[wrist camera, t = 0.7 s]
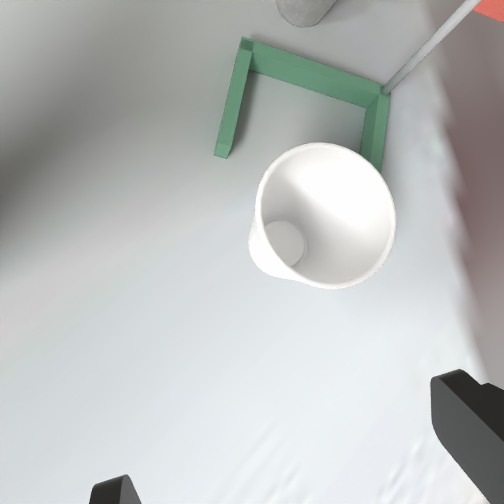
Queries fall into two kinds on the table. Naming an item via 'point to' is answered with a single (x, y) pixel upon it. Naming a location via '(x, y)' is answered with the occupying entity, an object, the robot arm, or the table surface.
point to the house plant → (304, 11)
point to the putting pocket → (335, 81)
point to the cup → (322, 217)
